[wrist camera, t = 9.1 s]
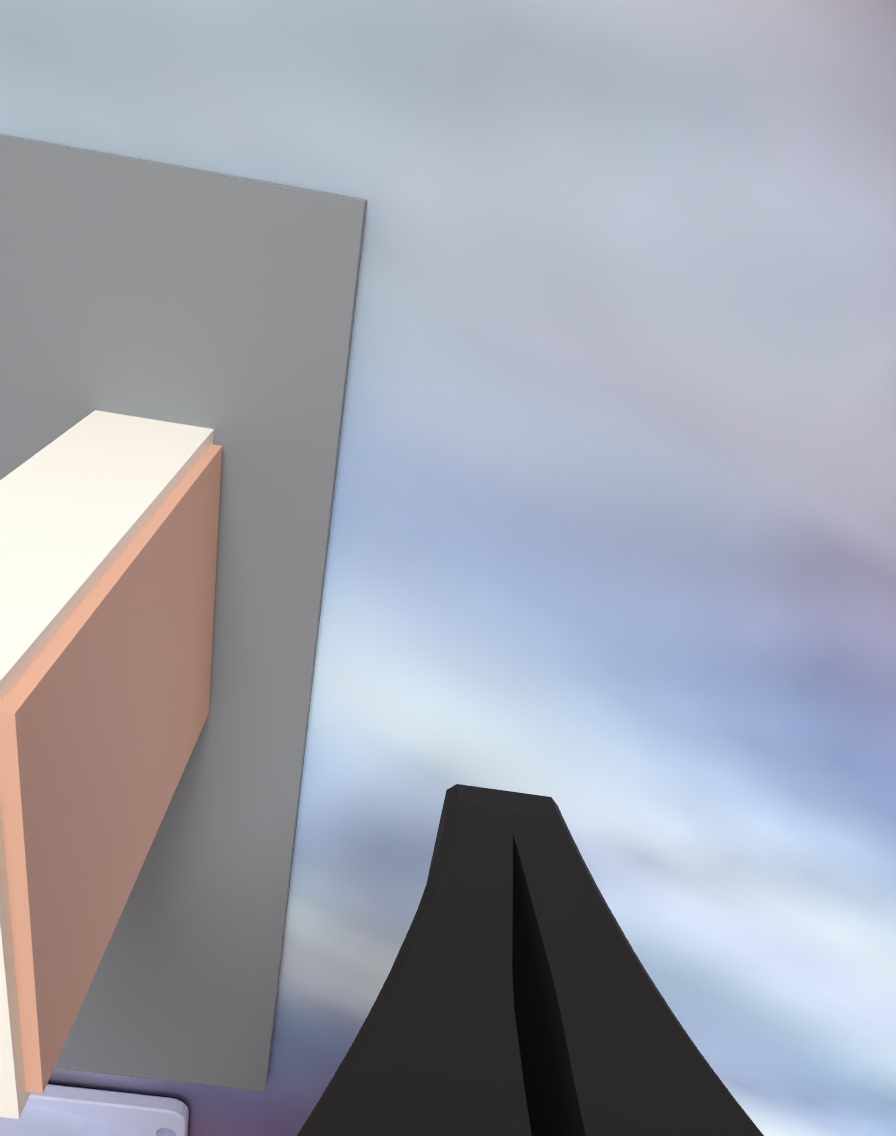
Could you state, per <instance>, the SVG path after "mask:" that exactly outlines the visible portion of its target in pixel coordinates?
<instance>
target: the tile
mask: <svg viewBox="0 0 896 1136" xmlns="http://www.w3.org/2000/svg"><path fill="white" fill-rule="evenodd" d="M213 438H214V429H209V428H203V427H197V426H191V425H184V424H178V423H172V422H166V421H160V420H153V419H147V418H141V417H135V416H128V415H122V414H116V413H110V412H103V411H97V410H95V411H93V412H92V413H91V414H89V415H88V416H87V417H85V418H84V419H83V420H81V421H80V422H78V423H77V424H76V425H74V426H73V427H72V428H70V429H69V430H68V431H66V432H65V433H64V434H62V435H61V436H60V437H58V438H57V439H56V440H54V441H53V442H51V443H50V444H49V445H47V446H46V447H45V448H43V449H42V450H41V451H39V452H38V453H37V454H35V455H34V456H33V457H31V458H30V459H28V460H27V461H26V462H24V463H23V464H22V465H20V466H19V467H18V468H16V469H15V470H14V471H12V472H11V473H10V474H8V475H7V476H6V477H4V478H3V479H1V480H0V1117H4V1118H13V1119H19V1118H20V1116H21V1114H22V1111H23V1109H24V1107H25V1105H26V1103H27V1100H28V1098H29V1096H30V1094H31V1092H32V1093H41V1094H43V1092H44V1090H45V1088H46V1086H47V1083H48V1081H49V1079H50V1076H51V1074H52V1072H53V1069H54V1067H55V1065H56V1063H57V1060H58V1058H59V1056H60V1053H61V1051H62V1049H63V1047H64V1044H65V1042H66V1040H67V1037H68V1035H69V1033H70V1030H71V1028H72V1026H73V1024H74V1021H75V1019H76V1017H77V1014H78V1012H79V1010H80V1008H81V1005H82V1003H83V1001H84V998H85V996H86V994H87V992H88V989H89V987H90V985H91V982H92V980H93V978H94V975H95V973H96V971H97V969H98V966H99V964H100V962H101V959H102V957H103V955H104V953H105V950H106V948H107V946H108V943H109V941H110V939H111V936H112V934H113V932H114V930H115V927H116V925H117V923H118V920H119V918H120V916H121V914H122V911H123V909H124V907H125V904H126V902H127V900H128V897H129V895H130V893H131V891H132V888H133V886H134V884H135V881H136V879H137V877H138V875H139V872H140V870H141V868H142V865H143V863H144V861H145V858H146V856H147V854H148V852H149V849H150V847H151V845H152V842H153V840H154V838H155V836H156V833H157V831H158V829H159V826H160V824H161V822H162V819H163V817H164V815H165V813H166V810H167V808H168V806H169V803H170V801H171V799H172V797H173V794H174V792H175V790H176V787H177V785H178V783H179V780H180V778H181V776H182V774H183V771H184V769H185V767H186V764H187V762H188V760H189V758H190V755H191V753H192V751H193V748H194V746H195V744H196V742H197V739H198V737H199V735H200V732H201V730H202V728H203V725H204V723H205V721H206V719H207V716H208V714H209V703H210V683H211V663H212V642H213V622H214V602H215V582H216V562H217V542H218V521H219V501H220V481H221V461H222V446H220V445H213Z"/></svg>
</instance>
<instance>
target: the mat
mask: <svg viewBox="0 0 896 1136" xmlns="http://www.w3.org/2000/svg"><path fill="white" fill-rule="evenodd" d="M366 206H367V200H365V199H359V198H354V197H348V196H342V195H337V194H331V193H326V192H320V191H314V190H309V189H303V188H298V187H292V186H287V185H281V184H275V183H270V182H264V181H259V180H253V179H247V178H242V177H236V176H231V175H225V174H220V173H214V172H208V171H203V170H197V169H192V168H186V167H180V166H175V165H169V164H164V163H158V162H153V161H147V160H141V159H136V158H130V157H125V156H119V155H113V154H108V153H102V152H97V151H91V150H86V149H80V148H74V147H69V146H63V145H58V144H52V143H46V142H41V141H35V140H30V139H24V138H18V137H13V136H7V135H2V134H0V480H1V479H3V478H4V477H6V476H7V475H8V474H10V473H11V472H12V471H14V470H15V469H16V468H18V467H19V466H20V465H22V464H23V463H24V462H26V461H27V460H28V459H30V458H31V457H33V456H34V455H35V454H37V453H38V452H39V451H41V450H42V449H43V448H45V447H46V446H47V445H49V444H50V443H51V442H53V441H54V440H56V439H57V438H58V437H60V436H61V435H62V434H64V433H65V432H66V431H68V430H69V429H70V428H72V427H73V426H74V425H76V424H77V423H78V422H80V421H81V420H83V419H84V418H85V417H87V416H88V415H89V414H91V413H92V412H93V411H95V410H97V411H103V412H110V413H116V414H122V415H128V416H135V417H141V418H147V419H153V420H160V421H166V422H172V423H178V424H184V425H191V426H197V427H203V428H209V429H214V438H213V445H220V446H222V461H221V481H220V501H219V521H218V542H217V562H216V582H215V602H214V622H213V642H212V663H211V683H210V703H209V714H208V716H207V719H206V721H205V723H204V725H203V728H202V730H201V732H200V735H199V737H198V739H197V742H196V744H195V746H194V748H193V751H192V753H191V755H190V758H189V760H188V762H187V764H186V767H185V769H184V771H183V774H182V776H181V778H180V780H179V783H178V785H177V787H176V790H175V792H174V794H173V797H172V799H171V801H170V803H169V806H168V808H167V810H166V813H165V815H164V817H163V819H162V822H161V824H160V826H159V829H158V831H157V833H156V836H155V838H154V840H153V842H152V845H151V847H150V849H149V852H148V854H147V856H146V858H145V861H144V863H143V865H142V868H141V870H140V872H139V875H138V877H137V879H136V881H135V884H134V886H133V888H132V891H131V893H130V895H129V897H128V900H127V902H126V904H125V907H124V909H123V911H122V914H121V916H120V918H119V920H118V923H117V925H116V927H115V930H114V932H113V934H112V936H111V939H110V941H109V943H108V946H107V948H106V950H105V953H104V955H103V957H102V959H101V962H100V964H99V966H98V969H97V971H96V973H95V975H94V978H93V980H92V982H91V985H90V987H89V989H88V992H87V994H86V996H85V998H84V1001H83V1003H82V1005H81V1008H80V1010H79V1012H78V1014H77V1017H76V1019H75V1021H74V1024H73V1026H72V1028H71V1030H70V1033H69V1035H68V1037H67V1040H66V1042H65V1044H64V1047H63V1049H62V1051H61V1053H60V1056H59V1058H58V1060H57V1063H56V1065H55V1067H54V1068H58V1069H67V1070H76V1071H85V1072H94V1073H103V1074H112V1075H121V1076H130V1077H139V1078H148V1079H156V1080H165V1081H174V1082H183V1083H192V1084H201V1085H210V1086H219V1087H228V1088H237V1089H246V1090H255V1091H264V1092H265V1088H266V1083H267V1078H268V1071H269V1062H270V1053H271V1044H272V1036H273V1027H274V1018H275V1009H276V1000H277V991H278V983H279V974H280V965H281V956H282V947H283V938H284V930H285V921H286V912H287V903H288V894H289V885H290V877H291V868H292V859H293V850H294V841H295V833H296V824H297V815H298V806H299V797H300V788H301V780H302V771H303V762H304V753H305V744H306V735H307V727H308V718H309V709H310V700H311V691H312V682H313V674H314V665H315V656H316V647H317V638H318V629H319V621H320V612H321V603H322V594H323V585H324V576H325V568H326V559H327V550H328V541H329V532H330V523H331V515H332V506H333V497H334V488H335V479H336V471H337V462H338V453H339V444H340V435H341V426H342V418H343V409H344V400H345V391H346V382H347V373H348V365H349V356H350V347H351V338H352V329H353V320H354V312H355V303H356V294H357V285H358V276H359V267H360V259H361V250H362V241H363V232H364V223H365V214H366Z"/></svg>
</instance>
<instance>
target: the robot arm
mask: <svg viewBox="0 0 896 1136" xmlns="http://www.w3.org/2000/svg"><path fill="white" fill-rule="evenodd" d="M188 1117H189V1111H188V1107H187V1106H186V1105H185V1104H184V1103H183V1102H182V1101H180V1100H178V1099H174V1098H169V1097H160V1096H151V1095H142V1094H133V1093H124V1092H115V1091H106V1090H97V1089H88V1088H79V1087H69V1086H60V1085H51V1084H47V1086H46V1088H45V1090H44V1092H43V1094H41V1093H32V1092H31V1094H30V1096H29V1098H28V1100H27V1103H26V1105H25V1107H24V1109H23V1111H22V1114H21V1116H20V1118H19V1119H13V1118H4V1117H0V1136H188ZM297 1136H764V1135H763V1134H762V1133H761V1132H760V1130H759V1129H758V1128H757V1127H756V1125H755V1124H754V1123H753V1121H752V1120H751V1119H750V1118H749V1116H748V1115H747V1114H746V1113H745V1111H744V1110H743V1109H742V1108H741V1106H740V1105H739V1104H738V1103H737V1101H736V1100H735V1099H734V1097H733V1096H732V1095H731V1093H730V1092H729V1091H728V1089H727V1088H726V1087H725V1085H724V1084H723V1083H722V1081H721V1080H720V1079H719V1077H718V1076H717V1075H716V1073H715V1072H714V1071H713V1069H712V1068H711V1067H710V1065H709V1064H708V1063H707V1061H706V1060H705V1059H704V1057H703V1056H702V1054H701V1053H700V1051H699V1050H698V1049H697V1047H696V1046H695V1044H694V1043H693V1042H692V1040H691V1039H690V1037H689V1036H688V1034H687V1033H686V1031H685V1030H684V1029H683V1027H682V1026H681V1024H680V1023H679V1021H678V1020H677V1018H676V1017H675V1015H674V1014H673V1012H672V1011H671V1009H670V1008H669V1006H668V1005H667V1003H666V1001H665V1000H664V998H663V997H662V995H661V994H660V992H659V991H658V989H657V988H656V986H655V984H654V983H653V981H652V980H651V978H650V977H649V975H648V973H647V972H646V970H645V969H644V967H643V965H642V964H641V962H640V960H639V959H638V957H637V955H636V954H635V952H634V951H633V949H632V947H631V945H630V944H629V942H628V940H627V938H626V937H625V935H624V933H623V931H622V930H621V928H620V926H619V924H618V923H617V921H616V919H615V917H614V916H613V914H612V912H611V911H610V909H609V907H608V905H607V903H606V902H605V900H604V898H603V896H602V894H601V892H600V891H599V889H598V887H597V885H596V883H595V881H594V879H593V877H592V875H591V873H590V871H589V870H588V868H587V866H586V864H585V862H584V860H583V858H582V856H581V854H580V852H579V850H578V848H577V846H576V844H575V842H574V840H573V838H572V836H571V834H570V831H569V829H568V827H567V825H566V823H565V821H564V819H563V817H562V814H561V812H560V810H559V808H558V806H557V804H556V803H555V802H554V800H553V799H552V798H551V797H546V796H539V795H532V794H525V793H517V792H510V791H503V790H496V789H488V788H481V787H474V786H467V785H459V784H456V785H455V786H453V787H451V788H449V789H447V790H446V795H445V800H444V805H443V809H442V814H441V819H440V824H439V828H438V833H437V838H436V842H435V847H434V852H433V857H432V861H431V866H430V871H429V875H428V880H427V885H426V888H425V890H424V893H423V896H422V899H421V902H420V904H419V907H418V910H417V912H416V915H415V917H414V920H413V922H412V924H411V926H410V929H409V931H408V933H407V935H406V938H405V940H404V942H403V944H402V946H401V949H400V951H399V953H398V955H397V958H396V960H395V962H394V964H393V967H392V969H391V971H390V973H389V975H388V977H387V979H386V981H385V983H384V985H383V987H382V989H381V991H380V993H379V995H378V997H377V999H376V1001H375V1003H374V1005H373V1007H372V1009H371V1011H370V1013H369V1015H368V1016H367V1018H366V1020H365V1022H364V1024H363V1026H362V1028H361V1029H360V1031H359V1033H358V1035H357V1037H356V1039H355V1040H354V1042H353V1044H352V1046H351V1048H350V1049H349V1051H348V1053H347V1055H346V1056H345V1058H344V1060H343V1061H342V1063H341V1065H340V1066H339V1068H338V1070H337V1071H336V1073H335V1075H334V1077H333V1078H332V1080H331V1082H330V1083H329V1085H328V1087H327V1088H326V1090H325V1092H324V1093H323V1095H322V1097H321V1099H320V1100H319V1102H318V1103H317V1105H316V1107H315V1108H314V1110H313V1111H312V1113H311V1115H310V1116H309V1118H308V1119H307V1121H306V1123H305V1124H304V1126H303V1127H302V1129H301V1130H300V1132H299V1134H298V1135H297Z"/></svg>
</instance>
